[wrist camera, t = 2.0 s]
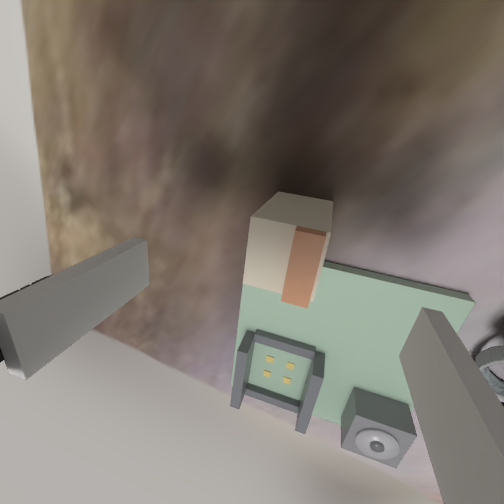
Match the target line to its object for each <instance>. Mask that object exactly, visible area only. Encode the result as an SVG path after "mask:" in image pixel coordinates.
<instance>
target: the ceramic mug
mask: <svg viewBox="0 0 504 504" xmlns="http://www.w3.org/2000/svg"><path fill="white" fill-rule="evenodd" d="M475 363H476V365H477V366H478V368H479V369H480V371H481V372H482V374H483V376H484V377H485V379H486V380H487V382H488V383H489V385H490V386H491V388H492V390H493V391H494V393H495V394H496V396H498V397H500V398H502V399H504V382H503V381H500V380H499V379H498V378H496V377H495V376H494V375H493V374H492V373H491V372H490V371H489V368H488V366H492V365H494V364H502V363H504V345H503V346H494V347H490V348H488V349H486V350H484V351H481V352H480V353H479V354H478V355H477V356H476V359H475Z"/></svg>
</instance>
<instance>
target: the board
mask: <svg viewBox="0 0 504 504" xmlns="http://www.w3.org/2000/svg"><path fill="white" fill-rule="evenodd" d="M281 298H282V294H281V293H277V292H273V291H269V290H265V289H262V288H258V287H254V286H250V285H246V284H243V288H242V297H241V305H240V313H239V321H238V330H237V338H236V346H235V354H234V363H233V371H232V379H231V386H233V380H234V372H235V364H236V356H237V350H238V348H239V346H240V343H241V341H242V339H243V337H244V335H245V333H246V331H247V330H249V331H252V332H256V330H257V329H259V330H262V331H266V332H269V333H272V334H276V335H279V336H282V337H286V338H289V339H292V340H296V341H299V342H302V343H306V344H309V345H312V346H316V351H318V352H322V353H325V368H324V380H323V383H322V386H321V389H320V392H319V395H318V398H317V400H316V403H315V406H314V409H313V412H312V415H314V416H317V417H319V418H322V419H325V420H328V421H331V422H333V423H336V424H339V425H341V416H342V414H343V412H344V409H345V407H346V404H347V402H348V400H349V397H350V395H351V393H352V390H353V388H354V387H356V388H359V389H362V390H366V391H369V392H372V393H375V394H378V395H381V396H384V397H387V398H390V399H393V400H397V401H400V402H403V403H406V404H409V408H410V412H411V411H412V409H413V407H414V404H413V401H412V398H411V394H410V391H409V388H408V385H407V381H406V378H405V375H404V371H403V368H402V365H401V362H400V358H399V354H400V352H401V350H402V348H403V346H404V344H405V342H406V340H407V338H408V335H409V333H410V331H411V329H412V327H413V325H414V323H415V321H416V319H417V317H418V315H419V312H420V310H421V308H422V307H425V308H429V309H433V310H437V311H441V312H443V313H444V315H445V316H446V318H447V320H448V321H449V323H450V324H451V326H452V327H453V329H454V330H455V332H456V334H457V333H458V331H459V329H460V328H461V326H462V324H463V323H464V321H465V319H466V318H467V316H468V314H469V312H470V311H471V309H472V307H473V306H474V304H475V301H474V300H473V299H472V298H471V297H470V296H469V294H466V293H461V292H457V291H453V290H448V289H444V288H440V287H435V286H431V285H427V284H422V283H418V282H413V281H409V280H405V279H400V278H396V277H392V276H387V275H383V274H379V273H374V272H370V271H366V270H361V269H357V268H353V267H348V266H344V265H339V264H335V263H331V262H326V261H324V263H323V267H322V271H321V274H320V278H319V282H318V286H317V289H316V293H315V297H314V301H313V302H311V301H310V302H309V306H308V309H307V308H304V307H300V306H296V305H293V304H289V303H285V302H282V301H281ZM267 355H269V356H272V357H274V361H273V363H270V362H267V361H266V356H267ZM287 362H290V363H294V364H295V366H294V370H291V369H288V368H286V365H287ZM311 362H312V360H311V359H307V358H304V357H301V356H298V355H295V354H291V353H288V352H285V351H282V350H279V349H275V348H272V347H269V346H266V345H263V344H259V343H256V342H255V343H254V349H253V355H252V362H251V368H250V374H249V380H248V383H250V384H253V385H256V386H259V387H262V388H265V389H267V390H270V391H273V392H276V393H279V394H282V395H285V396H287V397H290V398H293V399H296V400H299V401H300V399H301V395H302V392H303V389H304V385H305V382H306V379H307V375H308V372H309V369H310V365H311ZM264 370H266V371H269V372H271V375H270V378H269V377H266V376H263V372H264ZM283 377H287V378H290V379H291V381H290V385H289V384H286V383H283V382H282V381H283Z"/></svg>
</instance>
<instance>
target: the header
mask: <svg viewBox="0 0 504 504" xmlns="http://www.w3.org/2000/svg"><path fill="white" fill-rule="evenodd" d="M255 342H256V343H259V344H263V345H266V346H269V347H272V348H275V349H279V350H282V351H285V352H288V353H291V354H295V355H298V356H301V357H304V358H307V359H311V360H312V362H311V365H310V369H309V372H308V375H307V379H306V382H305V385H304V389H303V392H302V395H301V399H300V401H299V400H296V399H293V398H290V397H287V396H285V395H282V394H279V393H276V392H273V391H270V390H267V389H265V388H262V387H259V386H256V385H253V384H250V383H248V380H249V374H250V368H251V362H252V355H253V349H254V343H255ZM266 361H267V362H270V363H273V361H274V357H272V356H269V355H267V356H266ZM294 366H295V364H294V363H290V362H287V365H286V368H288V369H291V370H294ZM324 368H325V353H322V352H318V351H316V346H312V345H309V344H306V343H302V342H299V341H296V340H292V339H289V338H286V337H282V336H279V335H276V334H272V333H269V332H266V331H262V330H259V329H257V330H256V332H252V331H249V330H247V331H246V333H245V335H244V337H243V339H242V341H241V343H240V346H239V348H238V350H237V356H236V364H235V372H234V380H233V387H232V395H231V404H230V406H232V407H234V408H237V409H239V408H240V405H241V403H242V400H243V397H244V394H245V395H248V396H250V397H253V398H256V399H259V400H262V401H264V402H267V403H270V404H273V405H275V406H278V407H281V408H284V409H287V410H289V411H292V412H295V413H297V412H298V414H297V421H296V428H295V430H296V431H298V432H301V433H303V434H305V433H306V430H307V427H308V424H309V421H310V418H311V415H312V412H313V409H314V406H315V403H316V400H317V398H318V395H319V392H320V389H321V386H322V383H323V380H324ZM270 375H271V372H269V371H266V370H264V372H263V376H266V377H269V378H270ZM290 381H291V379H290V378H287V377H283V381H282V382H283V383H286V384H289V385H290Z"/></svg>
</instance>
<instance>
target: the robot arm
mask: <svg viewBox="0 0 504 504" xmlns="http://www.w3.org/2000/svg"><path fill="white" fill-rule="evenodd" d="M147 286H149V269H148V249H147V240H146V239H142V238H138V237H133V238H131V239H128V240H126V241H124V242H122V243H120V244H118V245H116V246H114V247H111V248H109V249H107V250H105V251H103V252H101V253H99V254H97V255H94V256H92V257H90V258H88V259H86V260H84V261H82V262H80V263H77V264H75V265H73V266H71V267H69V268H67V269H65V270H63V271H60V272H58V273H56V274H54V275H50V276H47V277H44V278H42V279H40V280H38V281H35V282H33V283H32V284H31V285H27V286H25V287H23V288H21V289H20V290H16V291H14V292H12V293H10V294H7V295H5V296H3V297H1V298H0V362H1V361H3V360H4V361H5V364H6V366H7V369H8V372H9V373H11V374H13V375H16V376H18V377H20V378H23V379H26V380H27V379H28V378H29V377H31V376H32V375H33V374H34V373H36V372H37V371H38V370H39V369H41V368H42V367H43V366H45V365H46V364H47V363H49V362H50V361H51V360H53V359H54V358H55V357H56V356H58V355H59V354H60V353H62V352H63V351H64V350H66V349H67V348H68V347H70V346H71V345H72V344H73V343H75V342H76V341H77V340H79V339H80V338H81V337H82V336H84V335H85V334H86V333H88V332H89V331H90V330H92V329H93V328H94V327H95V326H97V325H98V324H99V323H101V322H102V321H103V320H105V319H106V318H107V317H108V316H110V315H111V314H112V313H114V312H115V311H116V310H117V309H119V308H120V307H121V306H123V305H124V304H125V303H127V302H128V301H129V300H130V299H132V298H133V297H134V296H136V295H137V294H138V293H140V292H141V291H142V290H143V289H145V288H146V287H147ZM399 358H400V362H401V365H402V368H403V371H404V375H405V378H406V381H407V385H408V388H409V391H410V394H411V398H412V401H413V404H414V408H415V411H416V414H417V417H418V421H419V424H420V427H421V431H422V434H423V437H424V440H425V444H426V447H427V450H428V453H429V457H430V460H431V463H432V467H433V470H434V473H435V476H436V480H437V483H438V486H439V490H440V493H441V496H442V499H443V503H444V504H504V402H500V400H499V399H498V397H497V396H496V394H495V393H494V391H493V390H492V388H491V386H490V385H489V383H488V382H487V380H486V379H485V377H484V376H483V374H482V372H481V371H480V369H479V368H478V366H477V365H476V363H475V362H474V360H473V358H472V357H471V355H470V354H469V352H468V351H467V349H466V348H465V346H464V344H463V343H462V341H461V340H460V338H459V337H458V335H457V334H456V332H455V330H454V329H453V327H452V326H451V324H450V323H449V321H448V320H447V318H446V316H445V315H444V313H443V312H441V311H437V310H433V309H429V308H425V307H422V308H421V310H420V312H419V315H418V317H417V319H416V321H415V323H414V325H413V327H412V329H411V331H410V333H409V335H408V338H407V340H406V342H405V344H404V346H403V348H402V350H401V352H400V354H399Z"/></svg>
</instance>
